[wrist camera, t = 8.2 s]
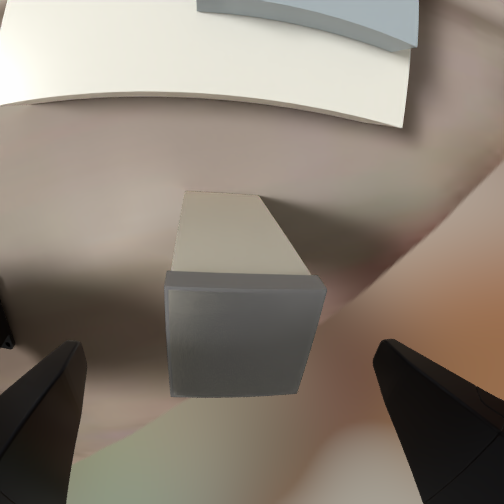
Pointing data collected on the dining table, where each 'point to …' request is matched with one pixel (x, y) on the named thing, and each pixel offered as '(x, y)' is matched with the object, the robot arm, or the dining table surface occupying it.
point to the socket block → (193, 59)
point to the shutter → (336, 17)
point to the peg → (237, 301)
